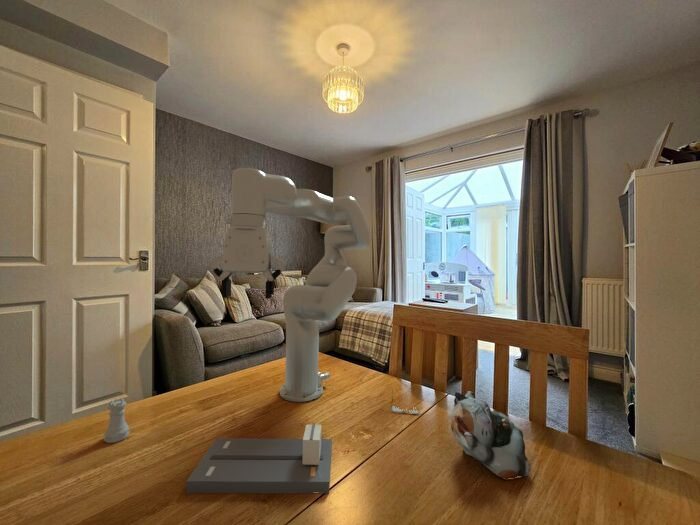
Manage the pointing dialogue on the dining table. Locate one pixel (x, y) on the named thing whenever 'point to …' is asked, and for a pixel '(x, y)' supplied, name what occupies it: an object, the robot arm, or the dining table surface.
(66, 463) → the dining table surface
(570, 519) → the dining table surface
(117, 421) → the rook chess piece
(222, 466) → the grey slotted panel
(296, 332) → the robot arm
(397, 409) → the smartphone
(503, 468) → the lucky cat figurine
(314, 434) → the fader
